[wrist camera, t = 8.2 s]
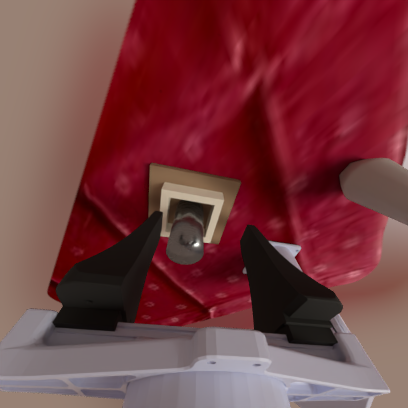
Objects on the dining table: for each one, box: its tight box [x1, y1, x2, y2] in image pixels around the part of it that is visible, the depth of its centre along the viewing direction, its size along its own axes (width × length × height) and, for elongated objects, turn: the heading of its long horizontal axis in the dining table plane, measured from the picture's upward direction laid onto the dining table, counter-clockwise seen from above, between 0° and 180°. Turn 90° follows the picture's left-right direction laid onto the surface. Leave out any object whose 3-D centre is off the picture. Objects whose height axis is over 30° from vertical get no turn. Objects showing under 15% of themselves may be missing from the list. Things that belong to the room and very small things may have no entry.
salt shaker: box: [339, 158, 408, 225], centre depth 17 cm, size 6×6×13 cm
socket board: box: [148, 163, 241, 244], centre depth 24 cm, size 12×12×3 cm
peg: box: [166, 200, 203, 264], centre depth 21 cm, size 4×4×8 cm
